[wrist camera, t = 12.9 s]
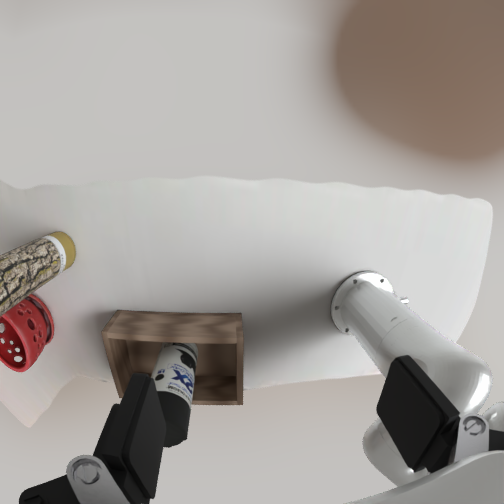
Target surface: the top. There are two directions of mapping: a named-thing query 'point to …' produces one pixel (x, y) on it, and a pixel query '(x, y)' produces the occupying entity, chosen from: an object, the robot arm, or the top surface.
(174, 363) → the spray can
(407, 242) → the top surface
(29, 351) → the plant pot
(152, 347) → the walnut box
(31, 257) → the paper tube
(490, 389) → the robot arm
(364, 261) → the top surface
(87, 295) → the top surface
